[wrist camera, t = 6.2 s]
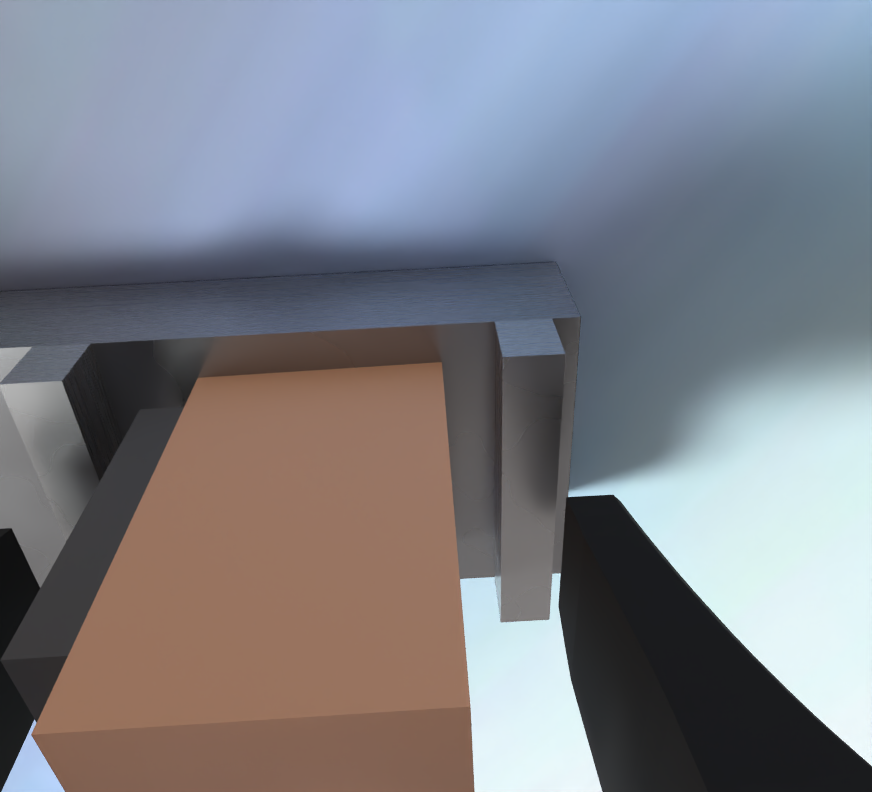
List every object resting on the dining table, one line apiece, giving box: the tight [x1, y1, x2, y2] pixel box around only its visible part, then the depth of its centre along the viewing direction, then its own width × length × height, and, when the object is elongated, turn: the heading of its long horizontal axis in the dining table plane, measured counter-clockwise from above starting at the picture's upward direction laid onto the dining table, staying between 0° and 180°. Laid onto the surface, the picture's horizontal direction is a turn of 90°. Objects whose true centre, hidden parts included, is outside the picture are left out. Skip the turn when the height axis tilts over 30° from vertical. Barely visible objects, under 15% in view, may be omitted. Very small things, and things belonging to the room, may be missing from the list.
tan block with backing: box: [0, 362, 474, 792], centre depth 9 cm, size 4×4×6 cm
